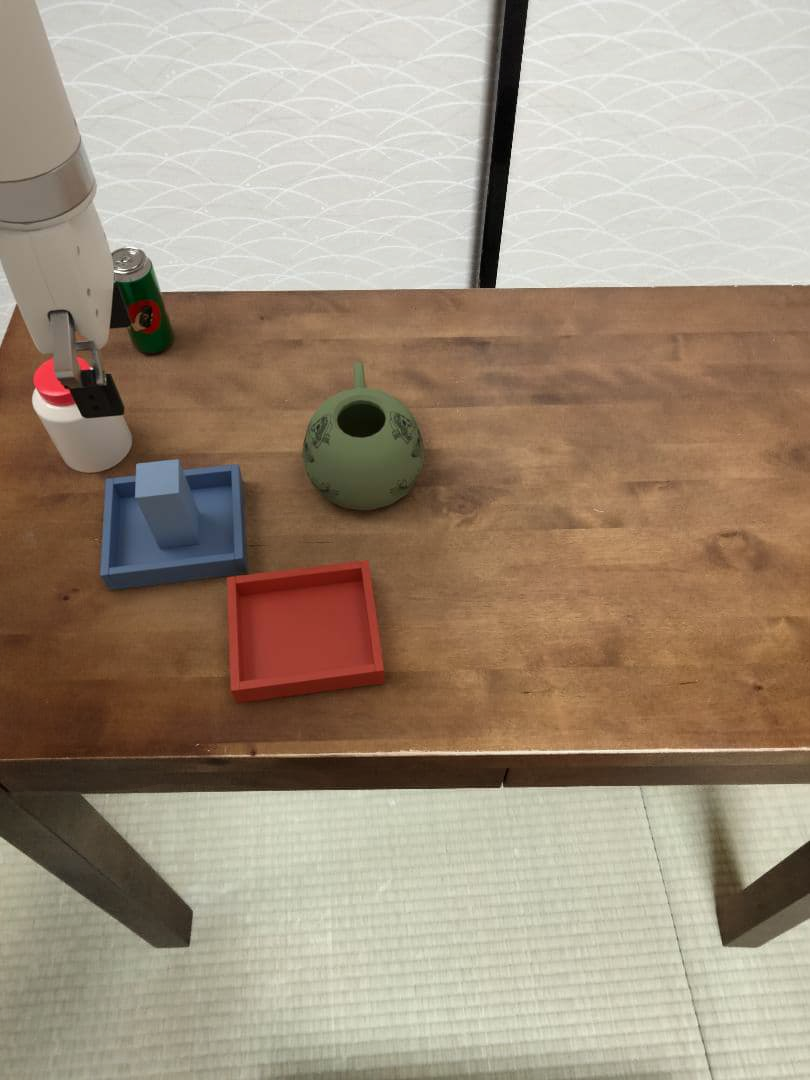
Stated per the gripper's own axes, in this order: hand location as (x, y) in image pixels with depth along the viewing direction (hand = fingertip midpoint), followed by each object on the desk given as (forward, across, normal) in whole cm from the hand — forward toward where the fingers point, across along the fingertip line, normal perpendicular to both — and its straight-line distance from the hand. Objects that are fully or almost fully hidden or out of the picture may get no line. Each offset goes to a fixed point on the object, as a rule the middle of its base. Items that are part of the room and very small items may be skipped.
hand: (108, 368), depth 65 cm
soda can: (+23, -27, -3) cm, 35 cm away
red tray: (+22, +15, +13) cm, 30 cm away
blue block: (+22, +1, +1) cm, 22 cm away
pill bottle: (+23, -12, -8) cm, 27 cm away
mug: (+22, -6, +21) cm, 31 cm away
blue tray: (+23, +1, +1) cm, 23 cm away
